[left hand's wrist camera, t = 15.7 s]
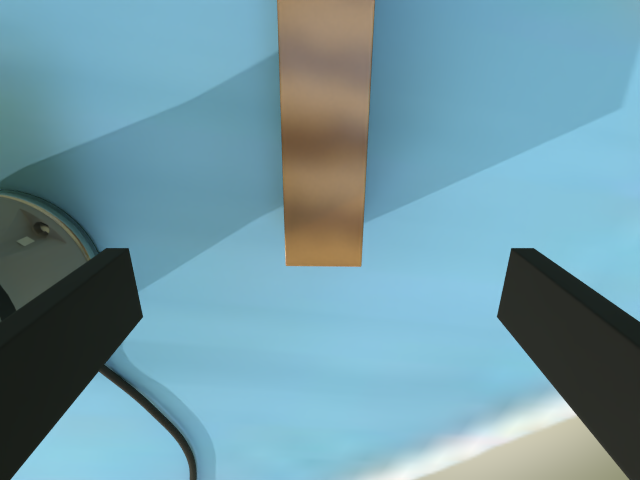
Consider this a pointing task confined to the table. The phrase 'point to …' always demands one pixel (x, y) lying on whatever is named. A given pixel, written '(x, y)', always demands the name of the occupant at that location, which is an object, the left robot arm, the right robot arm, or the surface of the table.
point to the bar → (324, 127)
